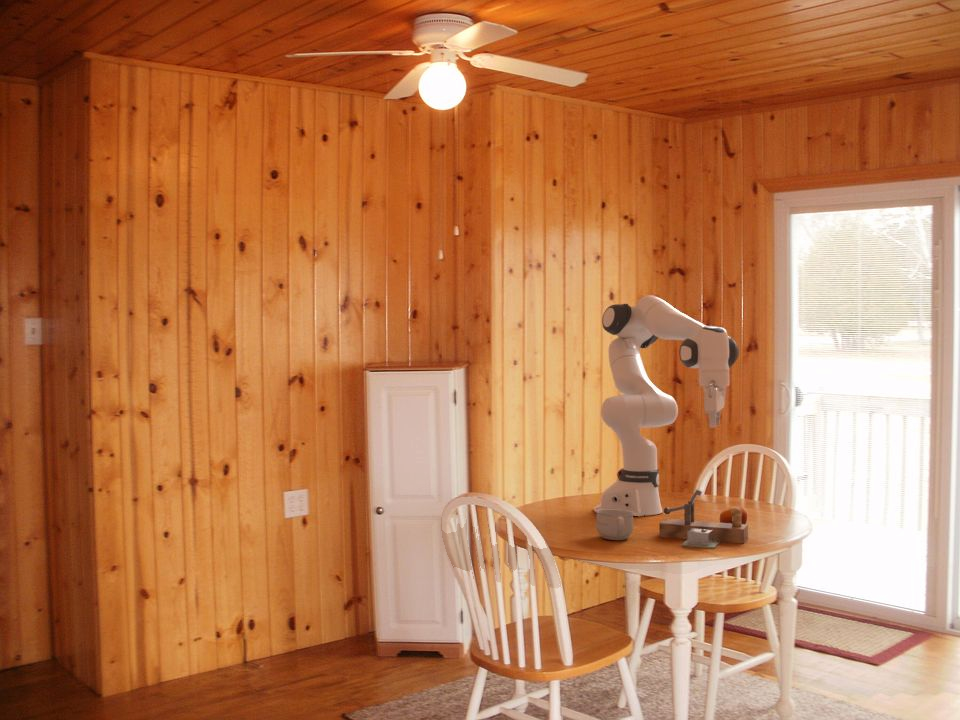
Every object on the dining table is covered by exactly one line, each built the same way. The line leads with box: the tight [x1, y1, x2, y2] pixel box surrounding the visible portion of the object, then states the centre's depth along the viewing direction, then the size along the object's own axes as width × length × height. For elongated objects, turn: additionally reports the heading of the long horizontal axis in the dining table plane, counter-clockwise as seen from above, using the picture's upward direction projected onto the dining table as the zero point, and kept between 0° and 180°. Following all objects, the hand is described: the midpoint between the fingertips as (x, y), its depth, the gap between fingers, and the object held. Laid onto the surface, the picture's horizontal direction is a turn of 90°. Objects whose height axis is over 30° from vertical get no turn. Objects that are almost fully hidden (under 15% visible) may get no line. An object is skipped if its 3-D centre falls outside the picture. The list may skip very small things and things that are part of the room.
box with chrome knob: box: [686, 528, 715, 546], centre depth 266 cm, size 6×4×4 cm
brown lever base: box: [658, 500, 749, 544], centre depth 275 cm, size 24×7×10 cm, turn 65°
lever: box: [663, 488, 704, 515], centre depth 277 cm, size 12×3×7 cm
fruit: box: [719, 505, 748, 525], centre depth 286 cm, size 8×8×8 cm
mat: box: [681, 539, 720, 549], centre depth 266 cm, size 9×7×1 cm
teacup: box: [595, 509, 634, 541], centre depth 275 cm, size 14×11×8 cm
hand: (714, 426), depth 285 cm, fingers open, 8 cm apart
